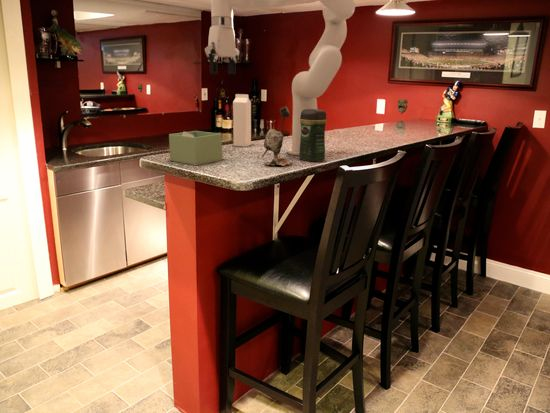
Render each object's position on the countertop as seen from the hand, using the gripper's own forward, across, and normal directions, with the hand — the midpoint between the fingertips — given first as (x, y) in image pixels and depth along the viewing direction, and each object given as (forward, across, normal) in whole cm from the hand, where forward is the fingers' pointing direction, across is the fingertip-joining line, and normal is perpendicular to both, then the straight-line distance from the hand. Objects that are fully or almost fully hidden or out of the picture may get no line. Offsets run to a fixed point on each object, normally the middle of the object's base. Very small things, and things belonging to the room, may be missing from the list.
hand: (223, 73), depth 162 cm
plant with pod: (+31, +1, +25) cm, 39 cm away
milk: (+31, -25, -12) cm, 41 cm away
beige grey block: (+24, +14, -3) cm, 28 cm away
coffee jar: (+31, -15, +30) cm, 45 cm away
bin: (+30, +13, -2) cm, 33 cm away
